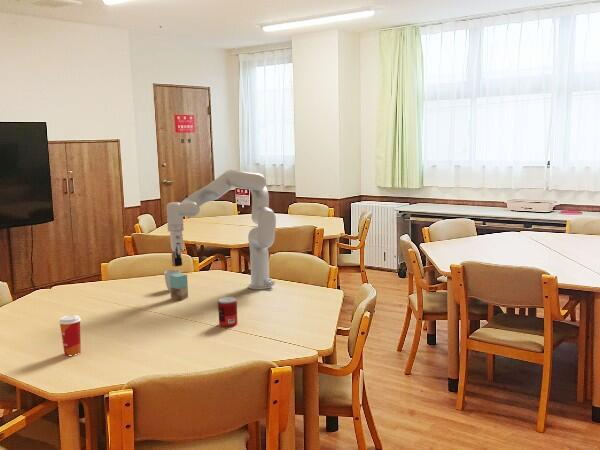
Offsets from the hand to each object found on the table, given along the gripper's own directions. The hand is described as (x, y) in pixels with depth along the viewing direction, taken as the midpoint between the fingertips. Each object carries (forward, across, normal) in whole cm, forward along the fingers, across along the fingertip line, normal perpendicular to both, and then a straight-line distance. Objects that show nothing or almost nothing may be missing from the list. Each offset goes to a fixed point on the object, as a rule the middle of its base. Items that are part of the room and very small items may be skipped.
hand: (177, 264), depth 297 cm
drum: (+1, 0, 0) cm, 1 cm away
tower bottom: (+18, 0, 0) cm, 18 cm away
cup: (+18, +18, 0) cm, 25 cm away
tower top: (+12, 0, 0) cm, 12 cm away
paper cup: (+18, -60, +50) cm, 80 cm away
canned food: (+18, -51, -12) cm, 55 cm away
